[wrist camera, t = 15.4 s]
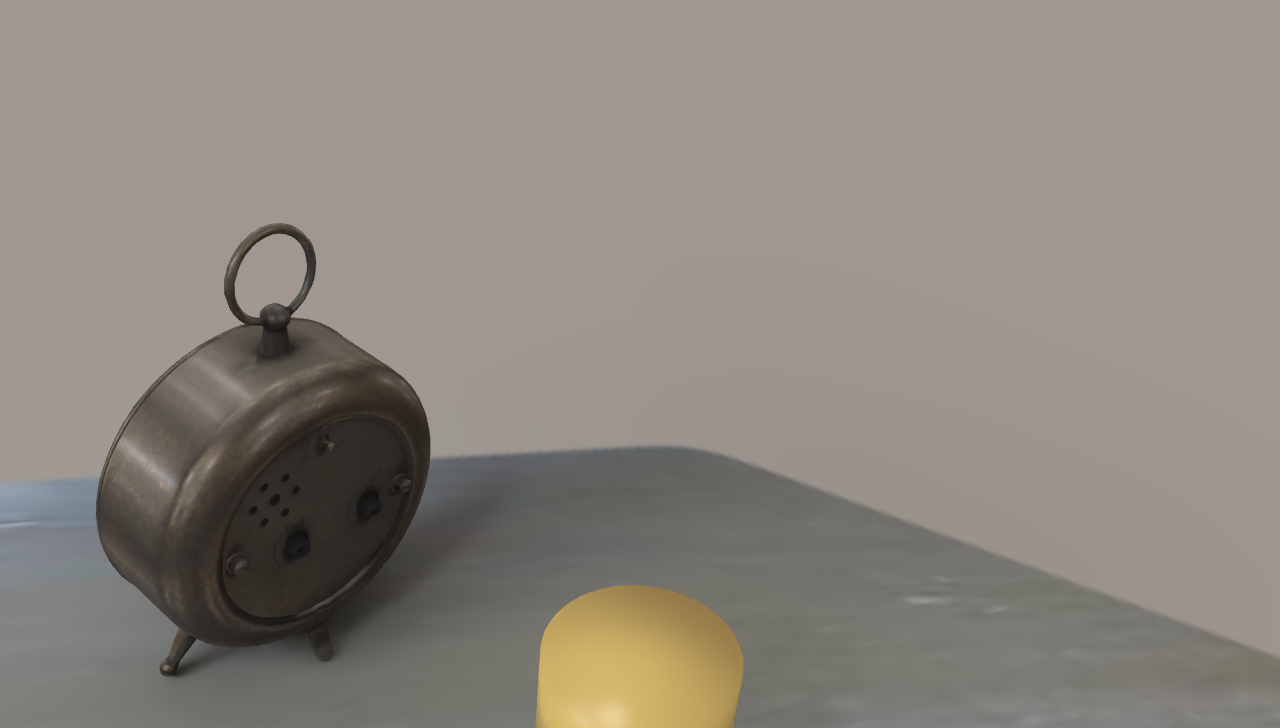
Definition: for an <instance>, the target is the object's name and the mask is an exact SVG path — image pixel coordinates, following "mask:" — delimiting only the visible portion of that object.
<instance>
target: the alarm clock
mask: <svg viewBox="0 0 1280 728" xmlns="http://www.w3.org/2000/svg"><path fill="white" fill-rule="evenodd" d="M278 233H279V234H287V235H289V236H292V237H293V238H295V239H296V240H297V241H298V242H299V243H300V244H301V246H302V248H303V250H304V252H305V256H306V261H307V272H306V276H305V280H304V283H303V286H302V289H301V291H300V293H299V294H298V296H297V297H296V298H295V300H293V302H292V303H291V304H290V305H289V306H288V307H285V306H283V305H280V304H277V303H273V304H269V305H267V306H265V307H264V308H263V309H262V310H261V311H260V318H255V317H251V316H248V315H247V314H245V313H244V312H243V311H242V310H241V308H240V307H239V306H238V304H237V301H236V298H235V286H234V283H235V279H236V276H237V272H238V269H239V267H240V264H241V262H242V260H243V259H244V257H245V255H246V254H247V253H248V251H249V250H250V249H251V248H252V247H253V246H254V245H255V244H256V243H257V242H259V241H260V240H262V239H263V238H265V237H267V236H270V235H272V234H278ZM315 269H316V258H315V252H314V249H313V245H312V243H311V241H310V240H309V239H308V238H307V237H306V235H305V234H304V233H303V232H301V231H300V230H299V229H297V228H296V227H294V226H291V225H288V224H281V223H279V224H278V223H277V224H270V225H267V226H264V227H261V228H259V229H257V230H256V231H254V232H253V233H251V234H250V235H249V236H248V237H247V238H246V239H245V240H244V241H243V242H242V243H241V244H240V245H239V246H238V248H237V249H236V251H235V252H234V254H233V255H232V257H231V260H230V262H229V265H228V267H227V271H226V275H225V279H224V294H225V297H226V300H227V302H228V305H229V308H230V310H231V311H232V313H233V314H234V315H235V316H236V317H237V318H238V319H239V320H240V321H241V322H243V323H245V324H244V325H241V326H238V327H235V328H232V329H230V330H228V331H225V332H223V333H221V334H220V335H217V336H215V337H214V338H212V339H210V340H208V341H206V342H205V343H203V344H201V345H200V346H198V347H197V348H195V349H194V350H192V351H191V352H189V353H188V354H186V355H185V356H184V357H182V358H181V359H180V360H179V361H177V362H176V363H175V364H174V365H173V366H172V367H170V368H169V369H168V370H167V371H166V372H165V373H164V374H163V375H161V376H160V377H159V379H157V380H156V381H155V382H154V383H153V385H152V386H151V387H150V388H149V389H148V390H147V391H146V392H145V393H144V395H143V396H142V397H141V398H140V400H139V401H138V402H137V403H136V405H135V406H134V407H133V409H132V410H131V412H130V413H129V415H128V416H127V418H126V420H125V421H124V423H123V425H122V426H121V428H120V430H119V432H118V434H117V436H116V438H115V440H114V442H113V444H112V446H111V448H110V451H109V453H108V456H107V458H106V461H105V465H104V467H103V470H102V474H101V477H100V481H99V487H98V494H97V502H96V518H97V527H98V533H99V537H100V541H101V544H102V547H103V549H104V552H105V553H106V555H107V557H108V559H109V561H110V562H111V564H112V565H113V567H114V568H115V569H116V570H117V571H118V573H119V574H120V575H121V576H122V577H123V578H125V579H126V580H127V581H129V582H130V583H132V584H133V585H135V586H136V587H137V588H138V589H139V590H140V591H141V592H142V593H143V594H144V595H145V596H146V597H147V598H148V599H149V600H150V601H151V602H152V603H153V604H154V605H156V606H157V607H158V608H159V609H160V610H161V611H162V612H163V613H164V614H165V615H166V616H167V617H168V618H169V619H170V620H171V621H172V622H173V623H175V624H176V625H177V626H178V627H179V629H178V632H177V635H176V637H175V640H174V642H173V645H172V648H171V651H170V654H169V657H168V658H166V659H164V660H163V661H162V662H161V665H160V672H161V674H162V675H164V676H167V677H168V676H172V675H174V674H175V673H176V671H177V668H178V665H179V662H180V660H181V659H182V657H183V656H184V655H185V653H186V652H187V651H188V650H189V648H190V647H191V646H192V644H193V643H194V642H195V640H196V639H198V640H201V641H203V642H205V643H209V644H213V645H217V646H227V647H246V646H255V645H261V644H266V643H271V642H274V641H278V640H281V639H284V638H286V637H289V636H292V635H294V634H297V633H299V632H301V631H303V630H306V631H307V632H308V634H309V636H310V639H311V644H312V647H313V650H314V653H315V655H316V656H317V658H319V659H320V660H321V661H323V662H324V661H328V660H329V659H331V657H332V655H333V650H332V645H331V643H330V639H329V634H328V628H327V618H328V616H329V615H330V614H332V613H333V612H335V611H336V610H337V609H339V608H340V607H341V606H343V605H344V604H345V603H346V602H347V601H348V600H350V599H351V598H352V597H353V596H354V595H355V594H357V593H358V592H359V591H360V590H361V589H362V588H363V587H364V586H365V585H366V584H367V583H368V582H369V581H370V580H371V579H372V578H373V577H374V576H375V575H376V573H377V572H378V571H379V570H380V569H381V567H382V566H383V565H384V564H385V562H386V561H387V560H388V559H389V557H390V556H391V555H392V553H393V552H394V550H395V549H396V547H397V546H398V544H399V543H400V541H401V540H402V538H403V536H404V534H405V532H406V531H407V529H408V527H409V525H410V523H411V521H412V519H413V517H414V515H415V513H416V510H417V508H418V505H419V503H420V500H421V497H422V494H423V491H424V488H425V484H426V479H427V475H428V469H429V462H430V432H429V427H428V422H427V417H426V414H425V411H424V408H423V406H422V404H421V401H420V399H419V397H418V396H417V394H416V392H415V391H414V389H413V388H412V387H411V385H410V384H409V383H408V382H407V381H406V380H405V379H404V378H403V377H402V376H401V375H399V374H398V373H396V372H395V371H394V370H393V369H391V368H390V367H388V366H387V365H386V364H384V363H382V362H381V361H379V360H378V359H376V358H375V357H373V356H372V355H370V354H369V353H367V352H366V351H364V350H363V349H361V348H359V347H358V346H356V345H355V344H353V343H352V342H350V341H349V340H347V339H346V338H344V337H343V336H342V335H340V334H339V333H338V332H337V331H335V330H333V329H332V328H330V327H328V326H326V325H324V324H322V323H319V322H316V321H312V320H308V319H301V318H291V315H292V313H294V312H295V311H296V310H297V309H298V307H299V306H300V305H301V304H302V302H303V301H304V300H305V298H306V296H307V294H308V292H309V290H310V288H311V286H312V284H313V281H314V277H315Z"/></svg>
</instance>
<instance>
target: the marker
mask: <svg viewBox="0 0 1280 728" xmlns="http://www.w3.org/2000/svg"><path fill="white" fill-rule="evenodd" d="M743 670H744V665H743V656H742V651H741V648H740V645H739V643H738V640H737V638H736V637H735V635H734V633H733V632H732V630H731V629H730V628H729V626H728V625H727V624H726V623H725V622H724V621H723V620H722V619H721V618H720V617H719V616H718V615H717V614H716V613H715V612H713V611H712V610H711V609H709V608H708V607H706V606H705V605H703V604H702V603H700V602H698V601H696V600H694V599H692V598H690V597H688V596H686V595H683V594H680V593H678V592H675V591H671V590H667V589H663V588H658V587H653V586H643V585H623V586H614V587H608V588H603V589H599V590H596V591H592V592H590V593H587V594H585V595H582V596H580V597H578V598H577V599H575V600H573V601H571V602H570V603H569V604H567V605H566V606H564V607H563V608H562V609H561V610H560V611H559V612H558V613H557V614H556V615H555V616H554V617H553V619H552V620H551V621H550V623H549V624H548V626H547V628H546V630H545V632H544V635H543V638H542V642H541V648H540V664H539V680H538V696H537V712H536V728H733V726H734V721H735V715H736V710H737V704H738V699H739V693H740V688H741V683H742V677H743Z"/></svg>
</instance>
